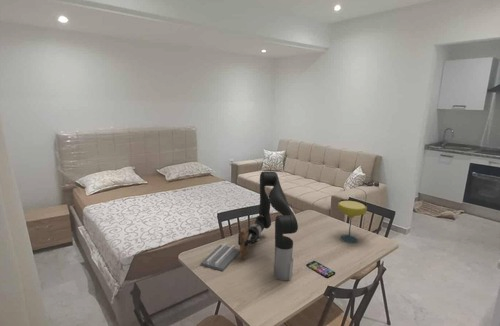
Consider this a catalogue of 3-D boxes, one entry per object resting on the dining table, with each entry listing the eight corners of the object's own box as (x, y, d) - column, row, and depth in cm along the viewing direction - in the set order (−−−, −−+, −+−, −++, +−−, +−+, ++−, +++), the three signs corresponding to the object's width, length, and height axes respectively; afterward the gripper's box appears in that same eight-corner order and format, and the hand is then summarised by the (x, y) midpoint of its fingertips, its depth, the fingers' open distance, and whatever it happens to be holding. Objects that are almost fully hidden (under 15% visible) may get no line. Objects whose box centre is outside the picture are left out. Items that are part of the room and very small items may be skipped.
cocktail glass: (368, 239, 188) (372, 204, 183) (354, 248, 176) (358, 211, 171) (343, 230, 201) (346, 197, 196) (329, 238, 189) (332, 203, 184)
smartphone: (314, 260, 161) (336, 272, 150) (314, 261, 162) (336, 274, 150) (305, 264, 157) (327, 277, 145) (305, 266, 157) (327, 279, 145)
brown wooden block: (248, 254, 163) (248, 228, 160) (244, 258, 159) (244, 232, 156) (243, 253, 165) (243, 227, 161) (239, 257, 160) (240, 231, 157)
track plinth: (240, 252, 170) (240, 246, 169) (223, 271, 150) (223, 265, 149) (220, 247, 175) (220, 241, 174) (200, 265, 155) (200, 259, 155)
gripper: (243, 224, 175) (230, 235, 159) (264, 228, 170) (253, 240, 154) (243, 235, 176) (230, 247, 161) (264, 239, 171) (253, 252, 155)
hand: (242, 244), depth 157 cm, fingers closed on brown wooden block, 3 cm apart
